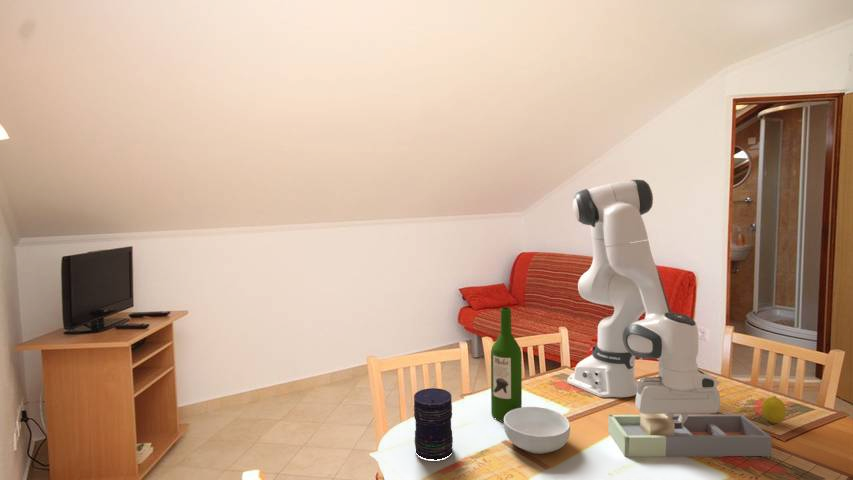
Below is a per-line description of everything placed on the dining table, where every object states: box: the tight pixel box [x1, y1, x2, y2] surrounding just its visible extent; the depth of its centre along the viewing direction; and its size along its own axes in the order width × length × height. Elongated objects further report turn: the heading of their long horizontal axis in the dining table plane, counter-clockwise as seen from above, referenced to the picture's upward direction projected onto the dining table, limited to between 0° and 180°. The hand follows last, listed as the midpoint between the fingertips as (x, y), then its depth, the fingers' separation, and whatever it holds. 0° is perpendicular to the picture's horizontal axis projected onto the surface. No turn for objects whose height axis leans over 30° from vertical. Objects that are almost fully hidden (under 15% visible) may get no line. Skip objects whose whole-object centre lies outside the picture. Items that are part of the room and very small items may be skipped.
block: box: [639, 412, 675, 435], centre depth 124 cm, size 6×6×4 cm
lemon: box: [761, 395, 787, 425], centre depth 133 cm, size 6×6×8 cm
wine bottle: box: [490, 307, 523, 422], centre depth 140 cm, size 9×9×32 cm
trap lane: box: [607, 413, 773, 458], centre depth 124 cm, size 36×12×5 cm, turn 88°
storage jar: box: [413, 387, 454, 460], centre depth 122 cm, size 10×10×15 cm
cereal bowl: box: [503, 406, 571, 455], centre depth 125 cm, size 17×17×7 cm
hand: (676, 428), depth 124 cm, fingers closed
